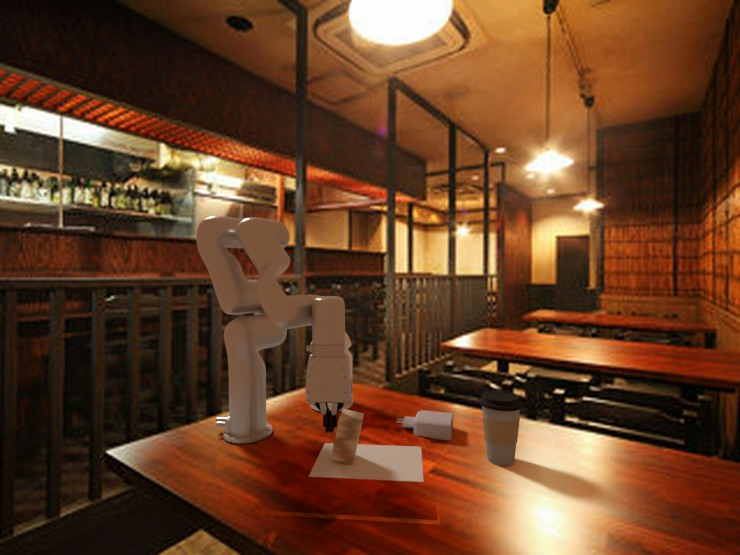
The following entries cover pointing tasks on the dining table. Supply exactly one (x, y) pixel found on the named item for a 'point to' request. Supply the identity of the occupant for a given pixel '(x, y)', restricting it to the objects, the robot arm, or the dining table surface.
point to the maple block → (347, 436)
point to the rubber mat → (373, 463)
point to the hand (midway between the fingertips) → (330, 429)
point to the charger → (430, 424)
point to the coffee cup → (500, 425)
